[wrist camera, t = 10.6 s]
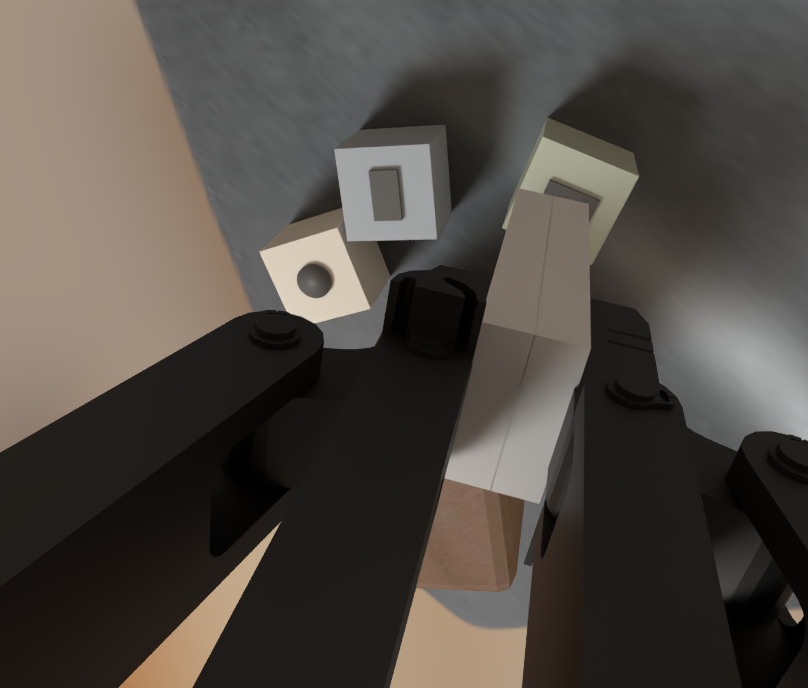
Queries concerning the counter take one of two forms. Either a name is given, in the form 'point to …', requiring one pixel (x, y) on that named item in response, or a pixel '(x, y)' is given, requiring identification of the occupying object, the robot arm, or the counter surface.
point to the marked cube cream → (324, 268)
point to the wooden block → (472, 540)
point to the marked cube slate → (394, 183)
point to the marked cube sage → (580, 176)
